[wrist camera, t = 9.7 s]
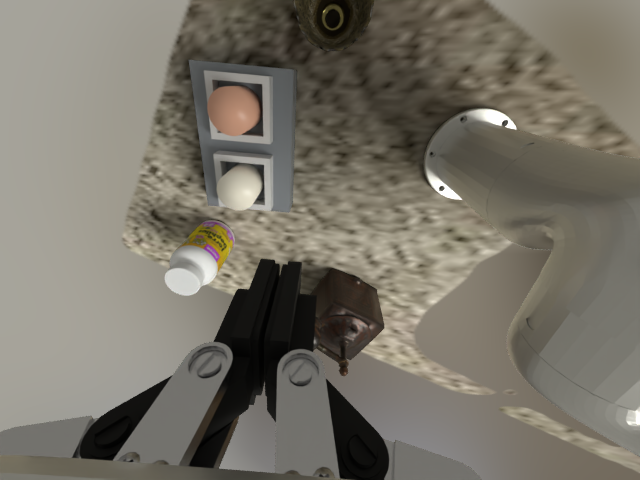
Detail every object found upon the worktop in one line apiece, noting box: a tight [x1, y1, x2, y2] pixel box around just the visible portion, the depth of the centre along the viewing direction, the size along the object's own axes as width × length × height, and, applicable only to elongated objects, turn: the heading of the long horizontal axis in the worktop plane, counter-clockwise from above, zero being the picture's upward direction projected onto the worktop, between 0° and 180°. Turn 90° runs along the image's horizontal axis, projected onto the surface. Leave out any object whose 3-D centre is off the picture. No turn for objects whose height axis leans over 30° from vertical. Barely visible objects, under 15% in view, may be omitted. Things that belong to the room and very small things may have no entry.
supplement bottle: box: [164, 220, 235, 295], centre depth 42 cm, size 7×7×13 cm
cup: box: [293, 0, 374, 51], centre depth 29 cm, size 8×7×8 cm
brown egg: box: [207, 86, 263, 136], centre depth 31 cm, size 5×5×5 cm
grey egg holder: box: [189, 60, 297, 212], centre depth 37 cm, size 12×18×6 cm, turn 175°
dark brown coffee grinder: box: [311, 269, 384, 376], centre depth 45 cm, size 16×11×18 cm
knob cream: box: [217, 163, 264, 210], centre depth 36 cm, size 5×5×5 cm
